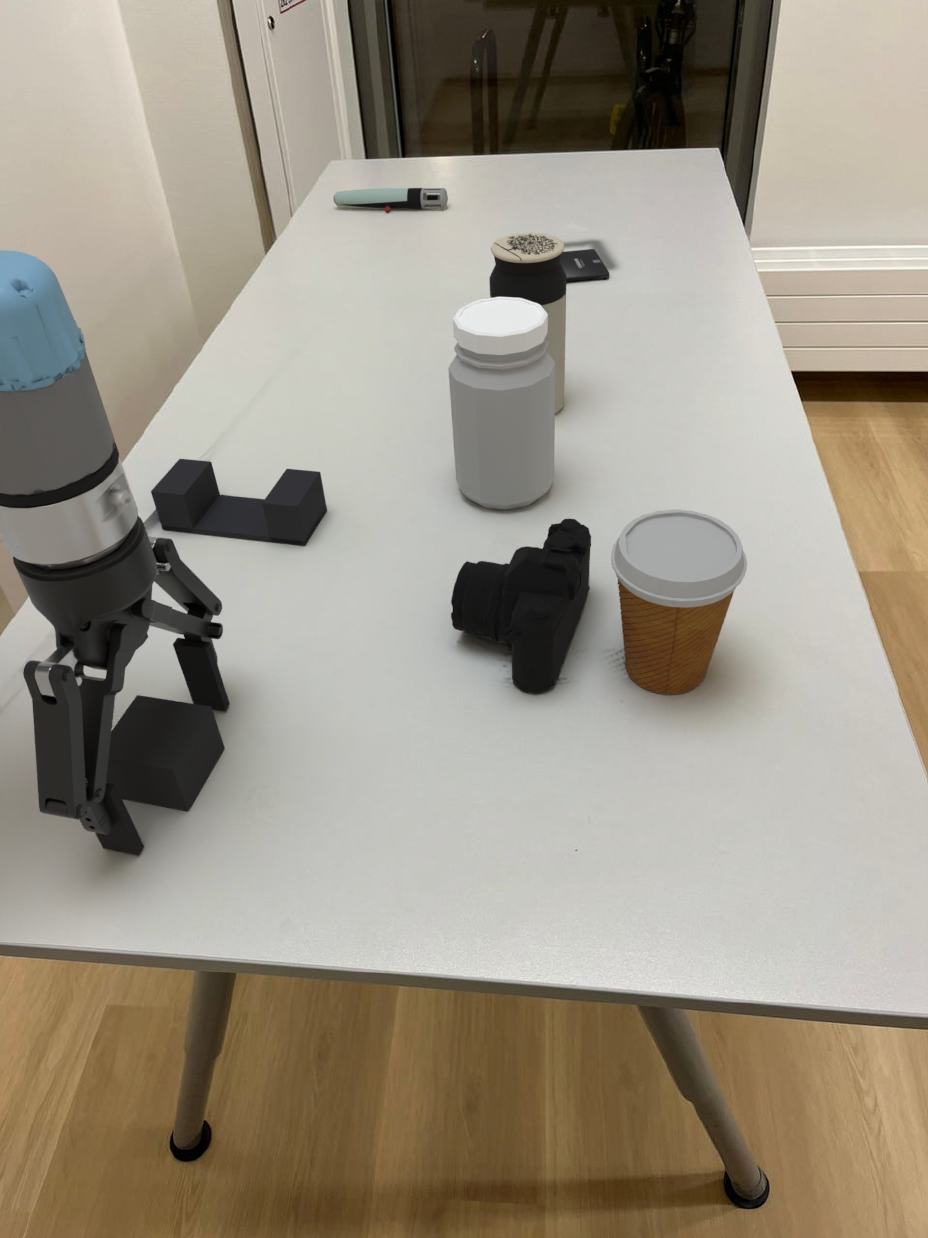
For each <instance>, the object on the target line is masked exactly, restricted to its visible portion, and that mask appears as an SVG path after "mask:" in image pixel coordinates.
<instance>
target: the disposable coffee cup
mask: <svg viewBox="0 0 928 1238" xmlns="http://www.w3.org/2000/svg"><path fill="white" fill-rule="evenodd" d="M610 562H611V568H612V569H613V571H614V573H615V575H616V578H617V585H618V586H617V587H618V597H619V607H620V619H621V629H622V640H623V652H624V666H625V670H626V673H627V675H628V676H629V678H630V679H631V680H632V681H633V683H635V684H636V685H638V686H639V687H640V688H643V689H644V690H647V691H648V692H652V693H655V694H661V695H680V694H684V693H688V692H691V691H693V690H694V689H696V688H697V687H699V686H700V685H701V684H702V683H703V682H704V680H705V678H706V677H707V672H708V670H709V666H710V663H711V661H712V657H713V654H714V652H715V649H716V646H717V643H718V641H719V637H720V634H721V631H722V629H723V625H724V622H725V619H726V617H727V613H728V611H729V607H730V605H731V601H732V600H733V596H734V593H735V590H736V588H737V587H738V586H739V585H740V584H741V582H742V581H743V579H744V578H745V577H746V574H747V573H746V572H747V569H748V560H747V555H746V553H745V551H744V549H743V544H742V540H741V538H740V536H739V535H738V533H736V531H735V530H734V529H733V528H732V527H731V526H730V525H728V524H726V523H725V522H724V521H722V520H720V519H718V518H717V517H714V516H711V515H709V514H706V513H702V512H698V511H694V510H686V509H665V510H664V509H663V510H656V511H653V512H649V513H644V514H642V515H640V516H638V517H636V518H634V519H633V520H631V521H630V522H629V523H627V524H626V525H625V527H624V528H623V529H622V530H621V532H620V534H619V537H618V538H617V540H616V541H615V543H614V544H613V546H612V549H611V552H610Z"/></svg>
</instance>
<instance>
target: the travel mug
mask: <svg viewBox="0 0 928 1238" xmlns="http://www.w3.org/2000/svg"><path fill="white" fill-rule="evenodd" d="M490 246H491V247H490V252H491V254H492V255H493V258H494V263H495V264H494V267H493V268H492V271H491V273H490V275H489V298H494V297H514V298H523V299H526V300H529V301H532V302H535V303H538V304H540V305H541V306H542V307H543V309H544V310H545V311H546V312H547V314H548V333H547V335H546V337H545V340H546V341H547V342H548V347H547V349H546V351H547V353H548V354H549V355H550V357H551V358H552V359H553V360H554V362H555V414H557V413H558V412H560V411H561V410H562V409H563V407H564V406H565V385H566V382H565V379H566V331H567V329H566V327H567V325H566V323H567V321H566V319H567V314H566V313H567V282H566V273H565V271H564V269H563V267H562V265H561V263H560V259H561V254H562V252H565V248H566V247H565V242H564V241H563V240H562V239H561V238H559V237H558V236H555V235H552V234H549V233H542V232H520V233H519V232H518V233H514V234H513V233H512V234H508V235H504V236H502V237H500V238H498V239H496V240H495V241H493V243H492V244H491V245H490Z"/></svg>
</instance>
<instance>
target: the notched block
mask: <svg viewBox="0 0 928 1238" xmlns="http://www.w3.org/2000/svg"><path fill="white" fill-rule="evenodd" d="M174 463H175V464H173V465H172V466H171V468H170V469H168V471H167V473H166V474H164V475H163V477H162V478H161V479H160V480H159V481H158V483H156V485H155V486H154V487H153V488H152V489H151V490H150V493H151V497H152V500H153V503H154V506H155V509H156V512H157V516H158V518H159V522H160V527H161V528H162V530H163V531H170V532H171V531H172V532H179V533H180V532H181V533H188V534H196V535H197V534H198V535H206V536H215V537H224V538H232V539H233V538H234V539H241V540H250V541H259V542H267V543H277V544H285V545H295V546H301V547H306V545H307V543H308V542H309V540H310V539H311V537H312V536H313V534H314V532H315V531H316V529H317V527H318V526H319V524H320V523H321V521H322V520H323V518H324V517H325V515H326V513H327V511H328V508H327V507H328V506H327V501H326V495H325V490H324V485H323V480H322V474H321V471H316V470H307V469H294V468H286V469H285V470H284V472H283V473H282V475H281V476H280V477H279V478H278V480H277V481H276V483H275V484H274V485H273V487H272V488H271V489H270V491H269V492H268V493H267V495H266V497H265V498H257V497H256V498H255V497H247V496H239V495H238V496H237V495H227V494H221V493H220V490H219V485H218V481H217V477H216V475H215V474H216V473H215V471H214V467H213V463H212V461H209V460H200V459H199V460H198V459H188V458H179V459H178V460H177V461H176V462H174Z"/></svg>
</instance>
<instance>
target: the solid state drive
mask: <svg viewBox="0 0 928 1238" xmlns="http://www.w3.org/2000/svg"><path fill="white" fill-rule="evenodd" d="M599 255H600V254H598V252H597V251H596V249H595V248H588V249H579V250H578V249H577V250H567V251H563V252H562V254H561V259H560V263H561V265H562V267H563V269H564V271H565V273H566V283H568V282H573V281H580V280H581V281H582V280H584V281H589V280H590V279H591V280H592V279H596V280H602V279H603V280H605V279H604V278H606V279H609V278H610V271H609V270H608V268H607V266H606V265H605V264H604V262H603V260H602V259H601V257H600V256H599Z"/></svg>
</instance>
